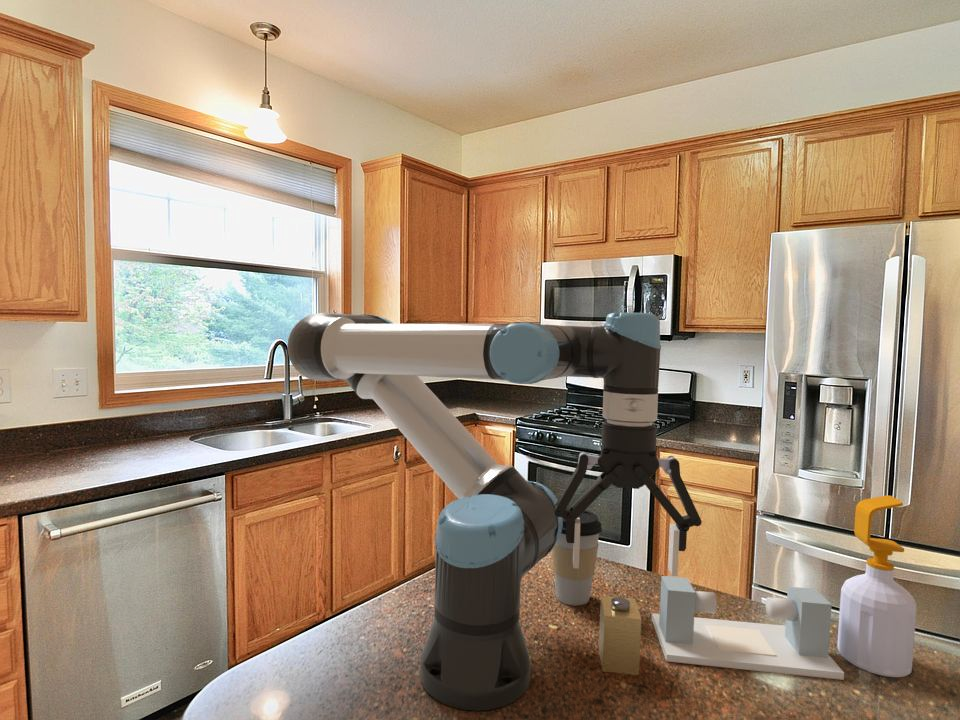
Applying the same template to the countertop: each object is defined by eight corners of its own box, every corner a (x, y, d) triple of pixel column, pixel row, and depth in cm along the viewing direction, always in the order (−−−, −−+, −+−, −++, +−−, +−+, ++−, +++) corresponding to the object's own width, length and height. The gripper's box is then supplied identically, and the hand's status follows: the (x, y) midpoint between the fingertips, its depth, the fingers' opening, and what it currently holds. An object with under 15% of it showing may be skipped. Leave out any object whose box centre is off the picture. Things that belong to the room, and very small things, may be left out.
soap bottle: (925, 683, 77) (938, 510, 76) (853, 673, 79) (864, 504, 78) (891, 648, 86) (903, 492, 85) (827, 639, 88) (837, 486, 86)
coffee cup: (606, 595, 100) (610, 513, 100) (587, 616, 92) (590, 528, 92) (558, 581, 105) (561, 503, 105) (536, 600, 98) (539, 517, 97)
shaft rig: (666, 661, 80) (669, 600, 80) (651, 619, 92) (654, 566, 92) (843, 679, 77) (848, 617, 77) (805, 633, 89) (808, 579, 89)
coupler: (602, 671, 78) (604, 610, 77) (598, 647, 84) (601, 590, 83) (638, 675, 77) (641, 613, 77) (632, 650, 83) (635, 593, 83)
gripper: (540, 421, 76) (535, 572, 77) (729, 430, 73) (722, 587, 74) (541, 414, 84) (537, 551, 85) (713, 421, 81) (707, 564, 82)
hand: (623, 568), depth 80 cm, fingers open, 13 cm apart
